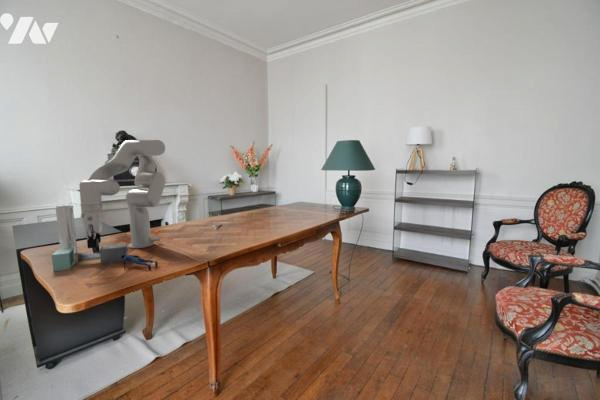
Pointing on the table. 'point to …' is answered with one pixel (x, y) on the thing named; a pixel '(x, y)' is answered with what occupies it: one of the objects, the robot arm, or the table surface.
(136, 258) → the person figurine
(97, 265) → the table surface
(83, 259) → the slip tube
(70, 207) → the grey cylinder
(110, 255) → the sleeve
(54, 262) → the socket block
